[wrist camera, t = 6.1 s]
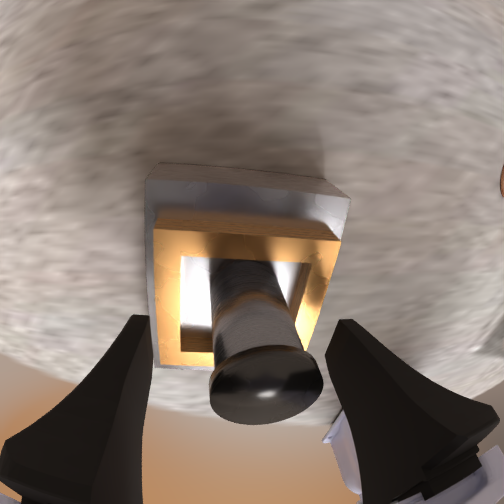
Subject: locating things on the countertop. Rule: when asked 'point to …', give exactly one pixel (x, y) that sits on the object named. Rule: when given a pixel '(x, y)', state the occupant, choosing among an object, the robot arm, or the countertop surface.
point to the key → (502, 182)
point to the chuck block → (233, 248)
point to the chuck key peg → (257, 349)
